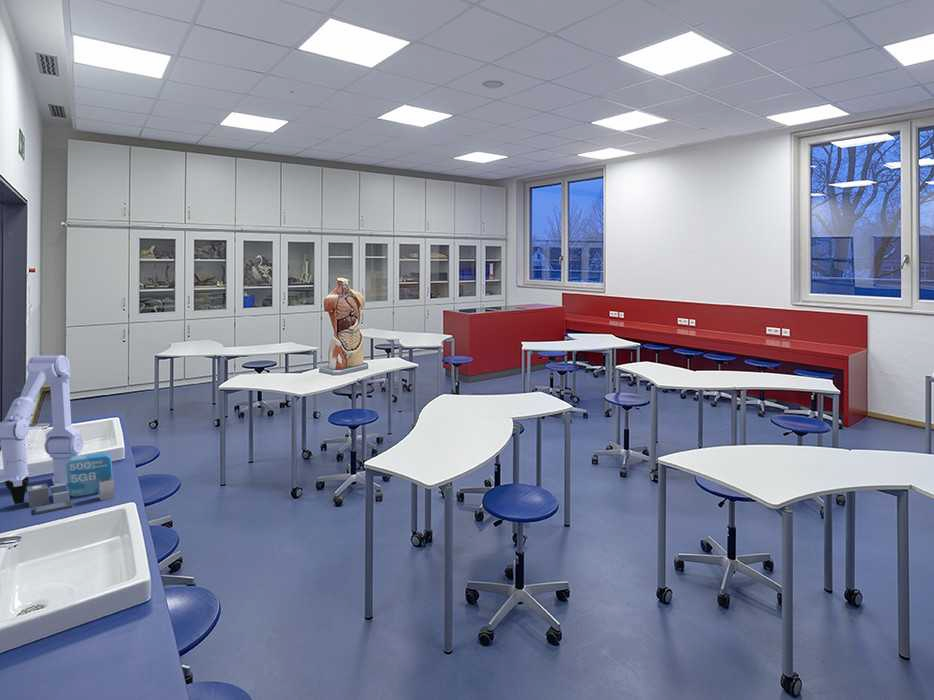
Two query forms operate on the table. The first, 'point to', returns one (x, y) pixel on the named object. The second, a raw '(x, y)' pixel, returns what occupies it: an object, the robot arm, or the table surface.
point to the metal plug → (106, 488)
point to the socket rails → (60, 493)
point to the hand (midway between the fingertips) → (19, 502)
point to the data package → (87, 473)
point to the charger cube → (38, 495)
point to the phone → (52, 507)
